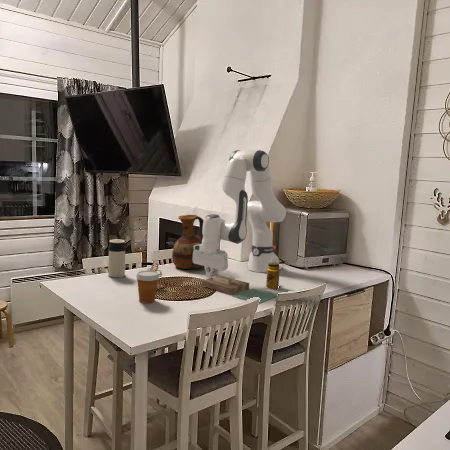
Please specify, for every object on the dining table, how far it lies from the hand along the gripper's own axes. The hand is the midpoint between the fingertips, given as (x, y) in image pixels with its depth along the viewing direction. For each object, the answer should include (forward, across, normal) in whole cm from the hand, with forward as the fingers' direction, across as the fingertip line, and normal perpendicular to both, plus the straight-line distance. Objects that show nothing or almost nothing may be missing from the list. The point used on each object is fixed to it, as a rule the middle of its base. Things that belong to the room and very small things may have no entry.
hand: (209, 275), depth 207 cm
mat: (+4, -28, 0) cm, 28 cm away
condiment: (+4, -25, -19) cm, 32 cm away
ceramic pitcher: (+4, +29, -17) cm, 34 cm away
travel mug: (+4, +40, +25) cm, 47 cm away
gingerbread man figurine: (+4, +11, +26) cm, 28 cm away
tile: (+1, -9, 0) cm, 9 cm away
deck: (+4, -10, 0) cm, 11 cm away
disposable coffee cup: (+4, 0, +40) cm, 40 cm away
